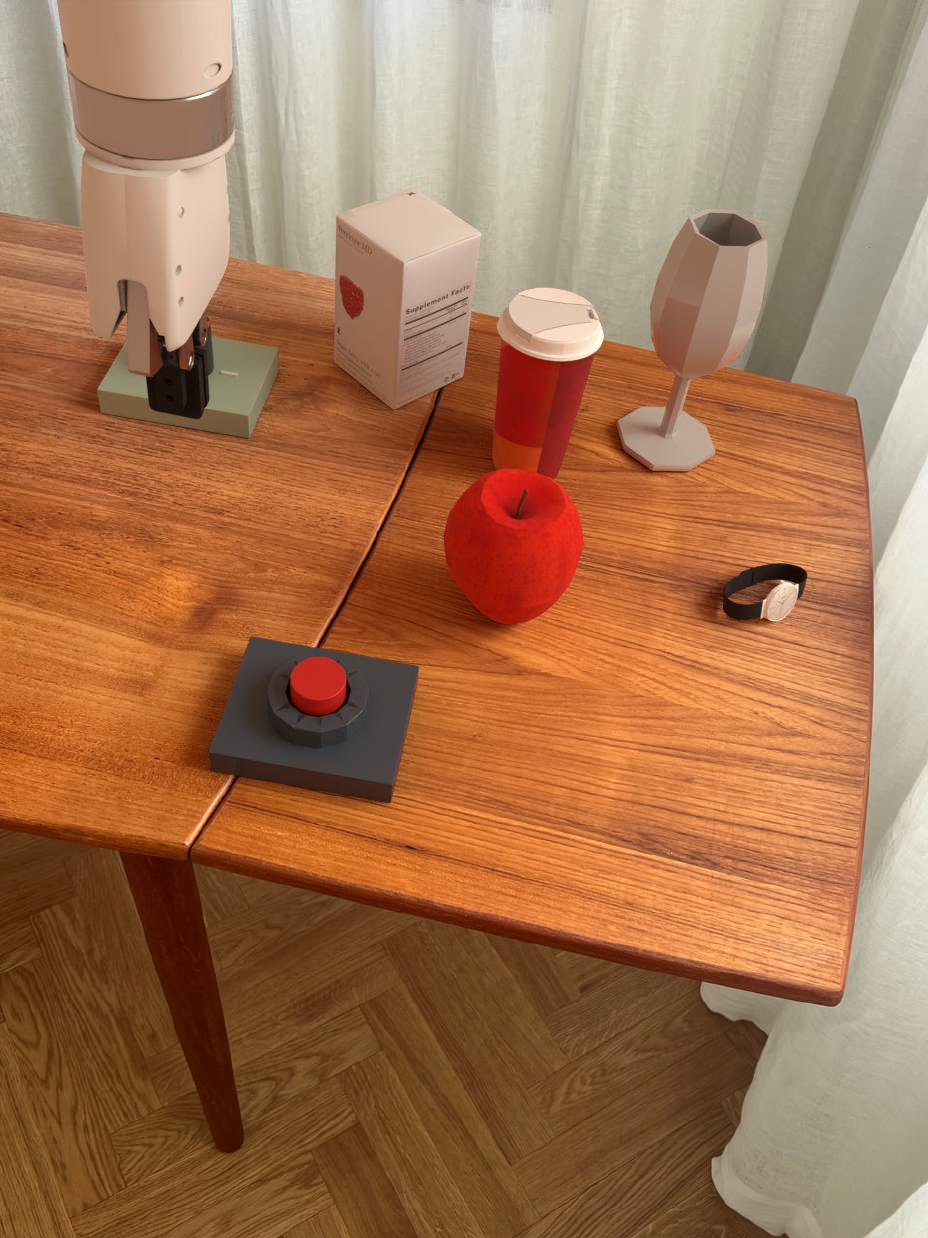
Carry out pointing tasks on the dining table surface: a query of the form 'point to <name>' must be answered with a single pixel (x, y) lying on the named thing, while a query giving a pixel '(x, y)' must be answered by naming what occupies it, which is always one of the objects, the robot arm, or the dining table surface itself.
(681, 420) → the wineglass
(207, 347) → the timer knob
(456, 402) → the dining table surface
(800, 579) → the watch
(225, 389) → the panel
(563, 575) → the apple
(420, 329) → the rectangular carton
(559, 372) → the coffee cup
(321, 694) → the power button
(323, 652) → the grey button base
